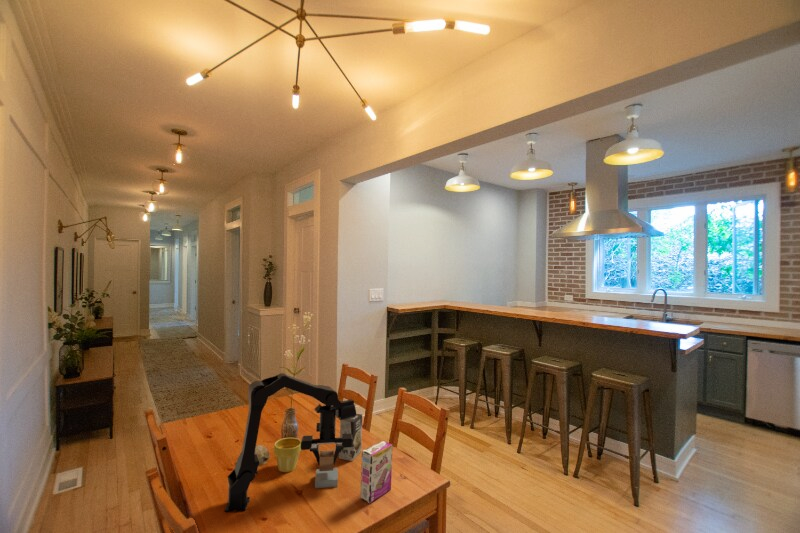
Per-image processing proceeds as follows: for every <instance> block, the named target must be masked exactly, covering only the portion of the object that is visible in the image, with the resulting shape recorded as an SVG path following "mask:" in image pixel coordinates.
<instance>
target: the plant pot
mask: <svg viewBox="0 0 800 533" xmlns="http://www.w3.org/2000/svg"><path fill="white" fill-rule="evenodd" d="M301 440H302V439H300V438H298V437H285V438H284V437H283V438H280V439H278V440H277V441H275V442H274V445H273V453H274V455H275V457H276V464H277V468H278V471H279V472H282V473H289V472H292V471H294V470H295V469H296V468H297V463H298V459H299V456H300V453H301V451H302V450H301Z"/></svg>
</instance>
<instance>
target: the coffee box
mask: <svg viewBox="0 0 800 533" xmlns="http://www.w3.org/2000/svg"><path fill="white" fill-rule="evenodd" d="M339 421H340V423H339V424H340V426H339V427H340V428H339V437H342V434H352V436H353V447H346V448H344V449H343V450H341V451H340V453H339V455H338V459H340V460H345V461H350V462H353V461H354V460H356V458H357V457H358V456H359V455H360V454H362V447H363V446H362V445H363V443H362V440H363V439H362V438H363V435H362V434H363V414H361V413H356V416H355V418H350V419H345V420H339Z"/></svg>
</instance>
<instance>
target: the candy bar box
mask: <svg viewBox="0 0 800 533" xmlns="http://www.w3.org/2000/svg"><path fill="white" fill-rule="evenodd" d="M392 463H393V444H392V443H389V442H387V441H384V440H382V441H380V442H377V443H375V444H374V445H371V446H369V447H367V448H366V449H363V450H361V468H360V469H361V471H360V473H361V476H360V495H359V496H360V499H361V500H362V501H364V502H366V503H368V504H369V505H370V504H371V503H373V502H374V501H376V500H377V499H380V498H381V497H382V496H384V495H385V494H387V493H388V492H390V491H391V490H392V467H393V466H392V465H393V464H392Z"/></svg>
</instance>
